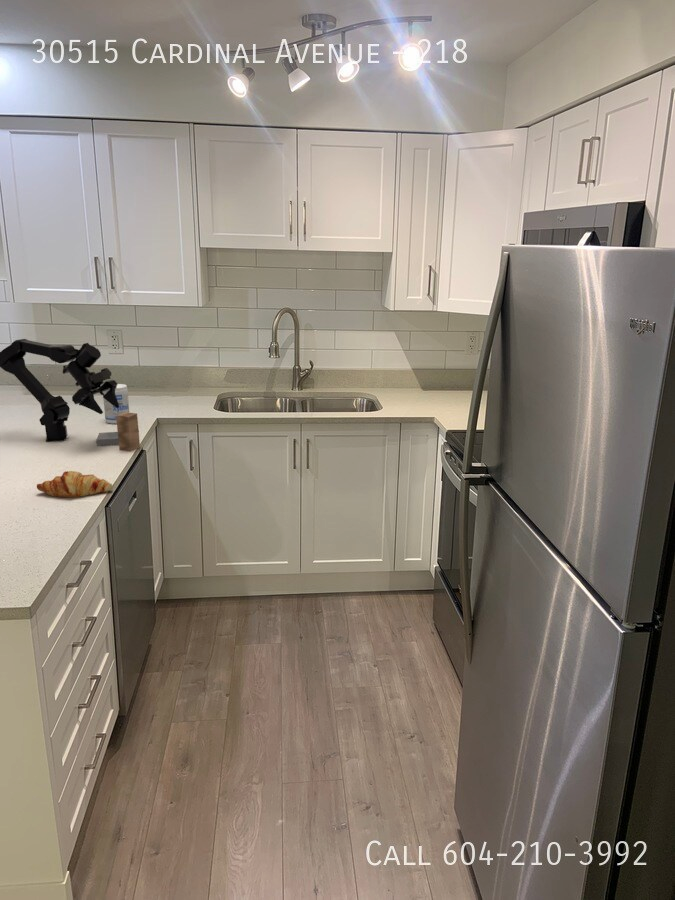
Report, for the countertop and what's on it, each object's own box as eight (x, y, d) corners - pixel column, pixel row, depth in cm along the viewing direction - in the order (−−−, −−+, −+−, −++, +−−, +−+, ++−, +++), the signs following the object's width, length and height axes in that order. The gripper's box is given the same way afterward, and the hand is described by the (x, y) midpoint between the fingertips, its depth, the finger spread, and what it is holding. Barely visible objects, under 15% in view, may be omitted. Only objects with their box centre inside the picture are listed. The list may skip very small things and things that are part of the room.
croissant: (116, 499, 194) (116, 472, 196) (109, 495, 185) (109, 467, 186) (41, 500, 191) (42, 473, 193) (30, 496, 182) (31, 468, 183)
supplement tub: (117, 425, 260) (113, 389, 255) (100, 422, 264) (96, 386, 260) (135, 420, 268) (132, 385, 263) (118, 417, 272) (115, 382, 268)
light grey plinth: (97, 446, 233) (96, 439, 232) (99, 439, 241) (99, 432, 240) (123, 444, 235) (122, 438, 234) (125, 437, 243) (124, 431, 242)
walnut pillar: (119, 449, 229) (115, 415, 225) (128, 446, 233) (125, 412, 230) (131, 451, 227) (127, 416, 223) (140, 447, 232) (137, 413, 228)
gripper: (77, 366, 218) (106, 402, 218) (112, 357, 234) (139, 391, 235) (59, 385, 222) (88, 421, 223) (94, 376, 239) (121, 409, 240)
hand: (110, 410), depth 230 cm, fingers open, 9 cm apart
